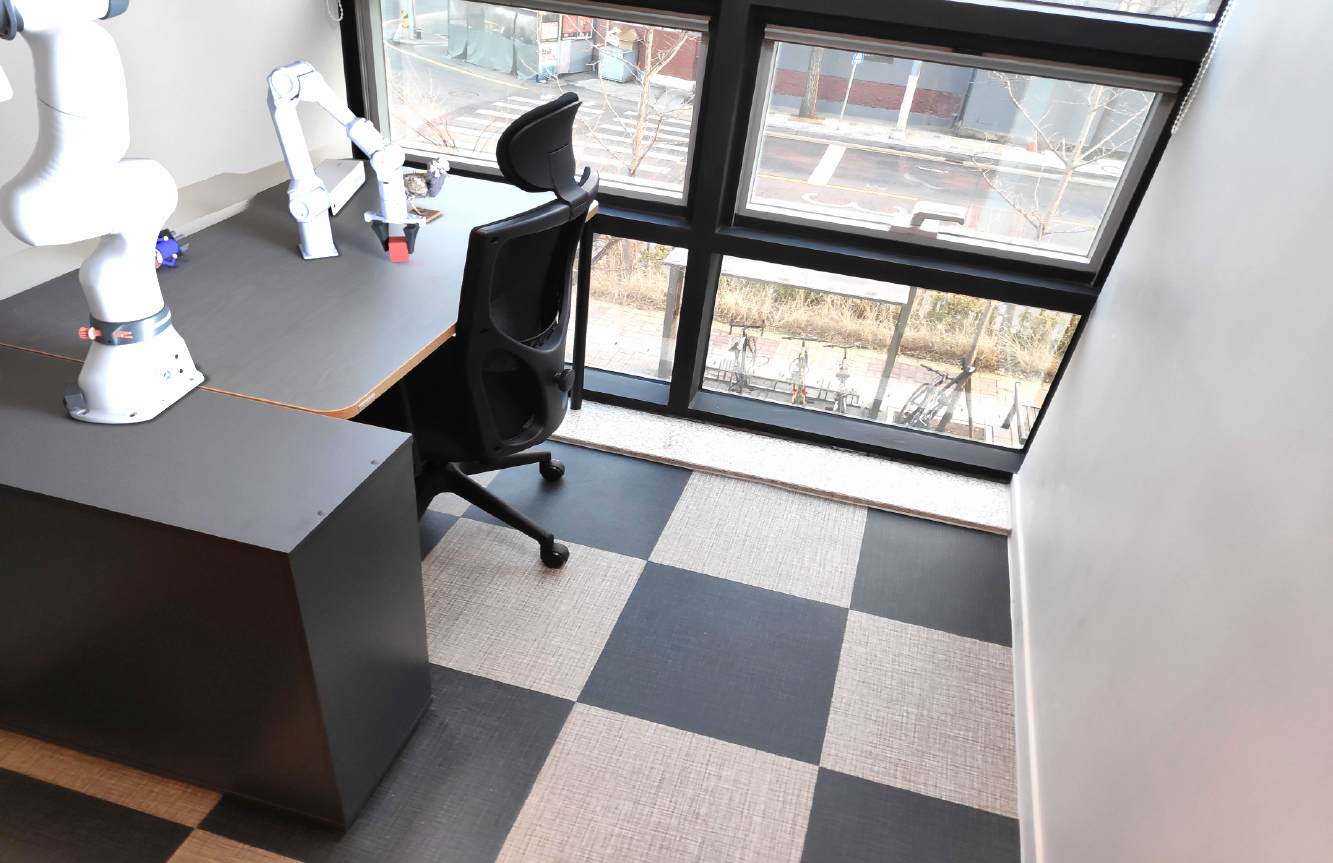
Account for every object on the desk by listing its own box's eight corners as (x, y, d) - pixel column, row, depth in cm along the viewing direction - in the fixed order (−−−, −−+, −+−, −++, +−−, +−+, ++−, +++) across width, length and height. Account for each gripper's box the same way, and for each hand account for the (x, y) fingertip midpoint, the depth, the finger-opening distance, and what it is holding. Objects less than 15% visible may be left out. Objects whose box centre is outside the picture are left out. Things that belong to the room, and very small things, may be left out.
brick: (409, 254, 205) (407, 236, 203) (408, 261, 202) (406, 242, 199) (391, 254, 205) (389, 236, 202) (390, 261, 201) (388, 243, 198)
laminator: (328, 178, 253) (325, 158, 250) (369, 180, 254) (366, 160, 251) (291, 215, 225) (287, 193, 222) (337, 217, 226) (333, 195, 222)
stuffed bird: (455, 224, 227) (450, 161, 218) (382, 221, 226) (373, 157, 216) (461, 212, 235) (456, 151, 226) (390, 209, 234) (382, 147, 225)
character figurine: (198, 256, 199) (155, 280, 187) (170, 250, 200) (126, 274, 187) (191, 225, 195) (148, 248, 182) (163, 220, 195) (117, 242, 183)
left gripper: (4, 42, 143) (33, 124, 151) (-104, 32, 145) (-70, 114, 152) (-26, 47, 138) (6, 132, 146) (-137, 37, 139) (-100, 121, 147)
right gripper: (428, 195, 198) (433, 248, 205) (370, 189, 199) (377, 242, 206) (417, 204, 192) (423, 259, 199) (357, 198, 193) (365, 252, 200)
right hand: (399, 251), depth 202 cm, fingers closed on brick, 5 cm apart
